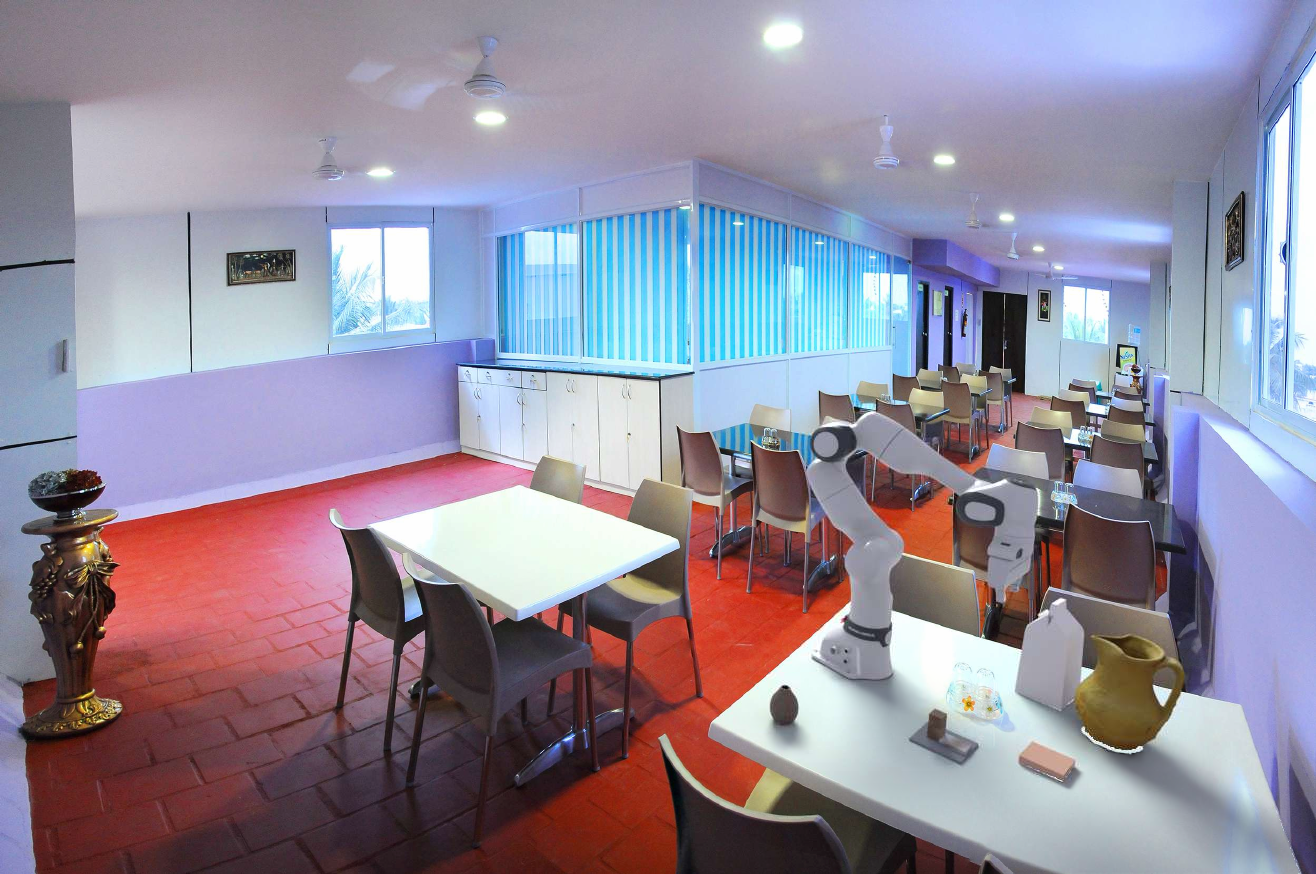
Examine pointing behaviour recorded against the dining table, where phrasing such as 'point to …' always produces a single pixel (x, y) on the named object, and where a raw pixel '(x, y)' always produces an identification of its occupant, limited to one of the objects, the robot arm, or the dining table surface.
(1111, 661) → the pitcher
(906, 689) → the dining table surface
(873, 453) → the robot arm
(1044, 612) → the milk
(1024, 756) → the tile
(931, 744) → the pad
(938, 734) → the brown block
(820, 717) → the dining table surface
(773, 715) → the vase
